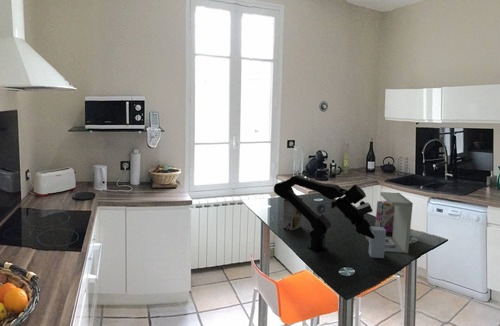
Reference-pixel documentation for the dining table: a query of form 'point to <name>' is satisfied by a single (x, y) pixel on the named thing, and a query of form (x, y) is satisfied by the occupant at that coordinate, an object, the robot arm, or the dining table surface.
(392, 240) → the white open shelf
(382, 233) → the tall gray box
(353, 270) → the dining table surface
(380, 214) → the candy bar box
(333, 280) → the dining table surface
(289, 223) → the coffee box
